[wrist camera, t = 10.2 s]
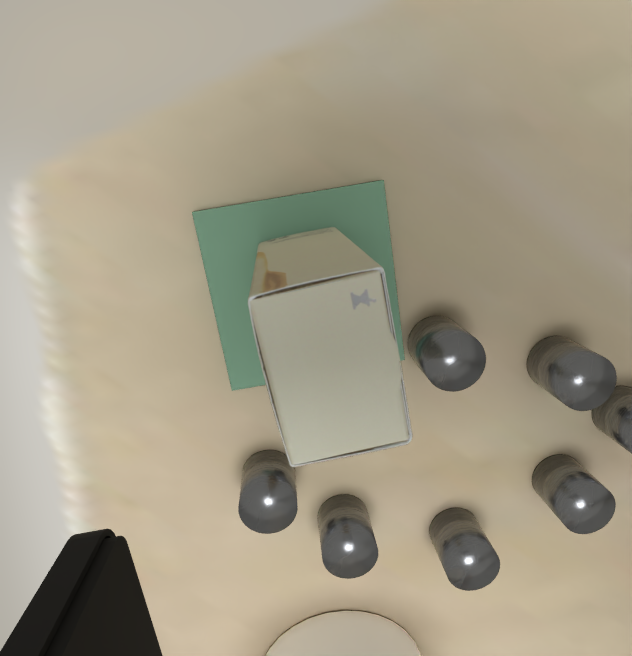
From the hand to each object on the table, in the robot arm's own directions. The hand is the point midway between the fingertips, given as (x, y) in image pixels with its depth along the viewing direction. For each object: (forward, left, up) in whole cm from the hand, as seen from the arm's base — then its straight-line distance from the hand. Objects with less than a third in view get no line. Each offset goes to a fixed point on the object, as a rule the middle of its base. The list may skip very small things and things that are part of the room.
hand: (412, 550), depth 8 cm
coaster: (+1, -1, -20) cm, 20 cm away
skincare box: (0, -1, -20) cm, 20 cm away
